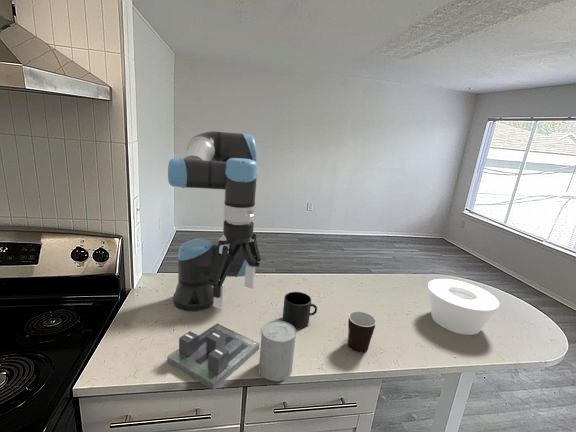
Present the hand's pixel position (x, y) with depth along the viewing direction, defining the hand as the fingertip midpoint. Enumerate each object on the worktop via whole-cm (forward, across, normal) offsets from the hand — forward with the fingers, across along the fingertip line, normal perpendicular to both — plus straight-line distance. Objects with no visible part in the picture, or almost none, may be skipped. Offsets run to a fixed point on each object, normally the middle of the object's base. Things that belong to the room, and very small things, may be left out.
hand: (234, 296), depth 88 cm
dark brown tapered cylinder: (+21, +30, -29) cm, 47 cm away
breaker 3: (+19, -6, 0) cm, 19 cm away
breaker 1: (+19, -5, +11) cm, 22 cm away
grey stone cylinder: (+21, +5, -12) cm, 25 cm away
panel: (+21, 0, +6) cm, 21 cm away
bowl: (+21, +66, -57) cm, 89 cm away
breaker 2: (+19, 0, +5) cm, 19 cm away
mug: (+21, +30, -7) cm, 37 cm away
